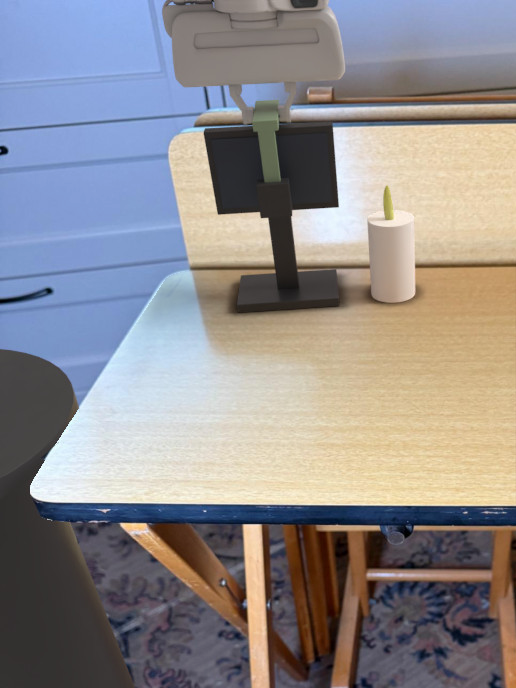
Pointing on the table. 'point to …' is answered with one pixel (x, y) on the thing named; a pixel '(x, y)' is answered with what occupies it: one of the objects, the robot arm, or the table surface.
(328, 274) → the monitor
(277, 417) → the table surface
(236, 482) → the table surface
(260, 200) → the headphones
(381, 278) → the candle
